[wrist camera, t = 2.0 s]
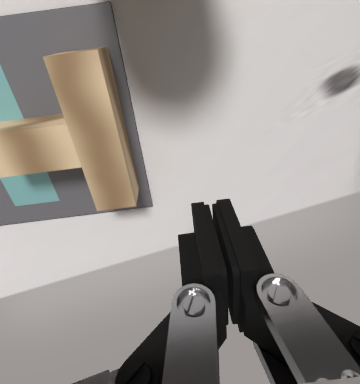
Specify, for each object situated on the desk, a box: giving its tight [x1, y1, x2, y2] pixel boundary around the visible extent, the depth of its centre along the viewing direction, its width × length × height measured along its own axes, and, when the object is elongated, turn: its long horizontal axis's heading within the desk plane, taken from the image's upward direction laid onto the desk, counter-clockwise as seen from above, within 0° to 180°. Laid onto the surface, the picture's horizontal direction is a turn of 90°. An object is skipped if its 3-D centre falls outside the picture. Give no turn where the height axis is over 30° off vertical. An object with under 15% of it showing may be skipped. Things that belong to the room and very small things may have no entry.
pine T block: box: [0, 47, 139, 211], centre depth 24 cm, size 12×14×4 cm
